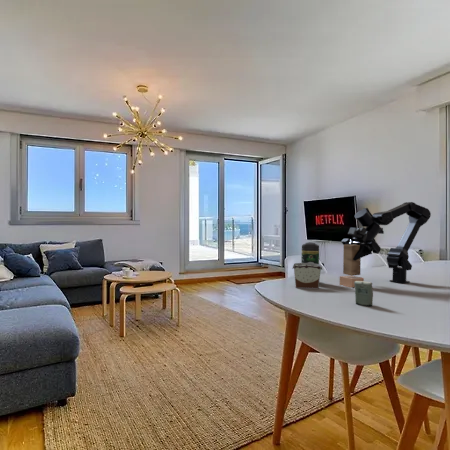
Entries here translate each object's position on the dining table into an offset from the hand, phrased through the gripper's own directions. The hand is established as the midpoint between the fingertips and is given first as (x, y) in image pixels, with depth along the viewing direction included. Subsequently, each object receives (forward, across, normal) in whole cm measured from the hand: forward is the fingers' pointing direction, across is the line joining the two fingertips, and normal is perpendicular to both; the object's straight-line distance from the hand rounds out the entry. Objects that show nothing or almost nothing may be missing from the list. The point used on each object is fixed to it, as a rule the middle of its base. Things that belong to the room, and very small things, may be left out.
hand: (349, 259), depth 146 cm
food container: (+22, -4, -6) cm, 24 cm away
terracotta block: (+8, 0, +9) cm, 12 cm away
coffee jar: (+17, -11, 0) cm, 21 cm away
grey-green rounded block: (+23, +29, -6) cm, 37 cm away
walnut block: (+4, 0, +6) cm, 7 cm away
